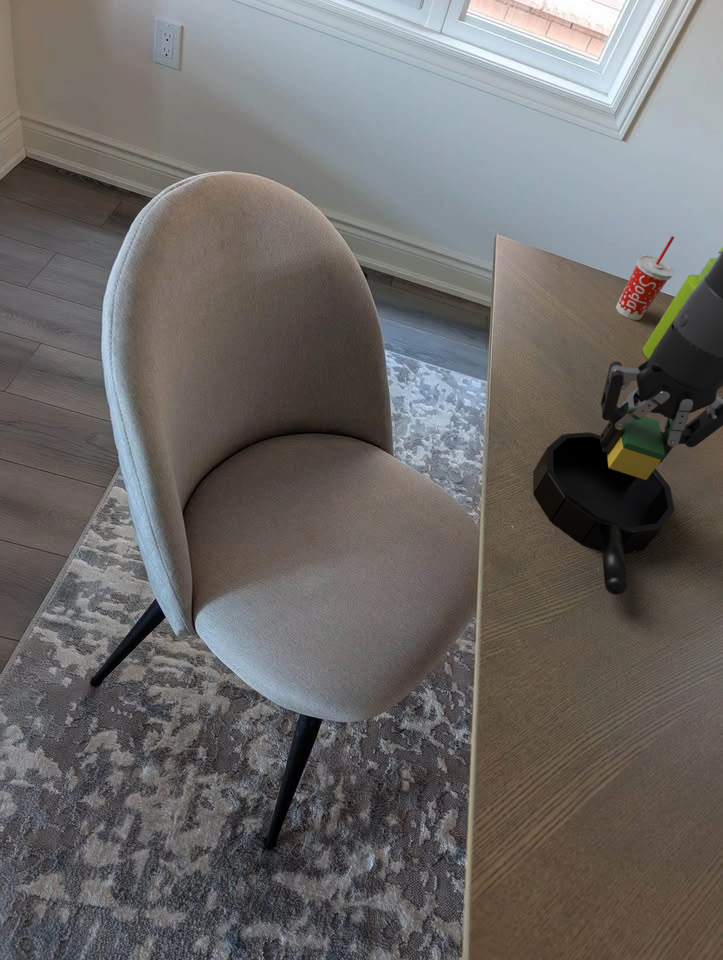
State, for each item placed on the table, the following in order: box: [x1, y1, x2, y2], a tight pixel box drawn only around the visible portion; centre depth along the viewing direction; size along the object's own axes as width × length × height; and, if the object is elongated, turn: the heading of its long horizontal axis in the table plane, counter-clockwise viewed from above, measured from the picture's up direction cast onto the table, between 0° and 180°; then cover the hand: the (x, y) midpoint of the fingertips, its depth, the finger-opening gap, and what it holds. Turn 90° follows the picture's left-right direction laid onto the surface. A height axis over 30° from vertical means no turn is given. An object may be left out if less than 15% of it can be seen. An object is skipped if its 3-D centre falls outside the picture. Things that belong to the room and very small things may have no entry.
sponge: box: [607, 415, 665, 480], centre depth 84 cm, size 6×4×4 cm
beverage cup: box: [615, 235, 675, 321], centre depth 122 cm, size 6×6×14 cm
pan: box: [532, 431, 675, 596], centre depth 86 cm, size 24×16×4 cm, turn 170°
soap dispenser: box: [642, 246, 723, 360], centre depth 112 cm, size 6×7×20 cm
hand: (626, 454), depth 85 cm, fingers closed on sponge, 4 cm apart
